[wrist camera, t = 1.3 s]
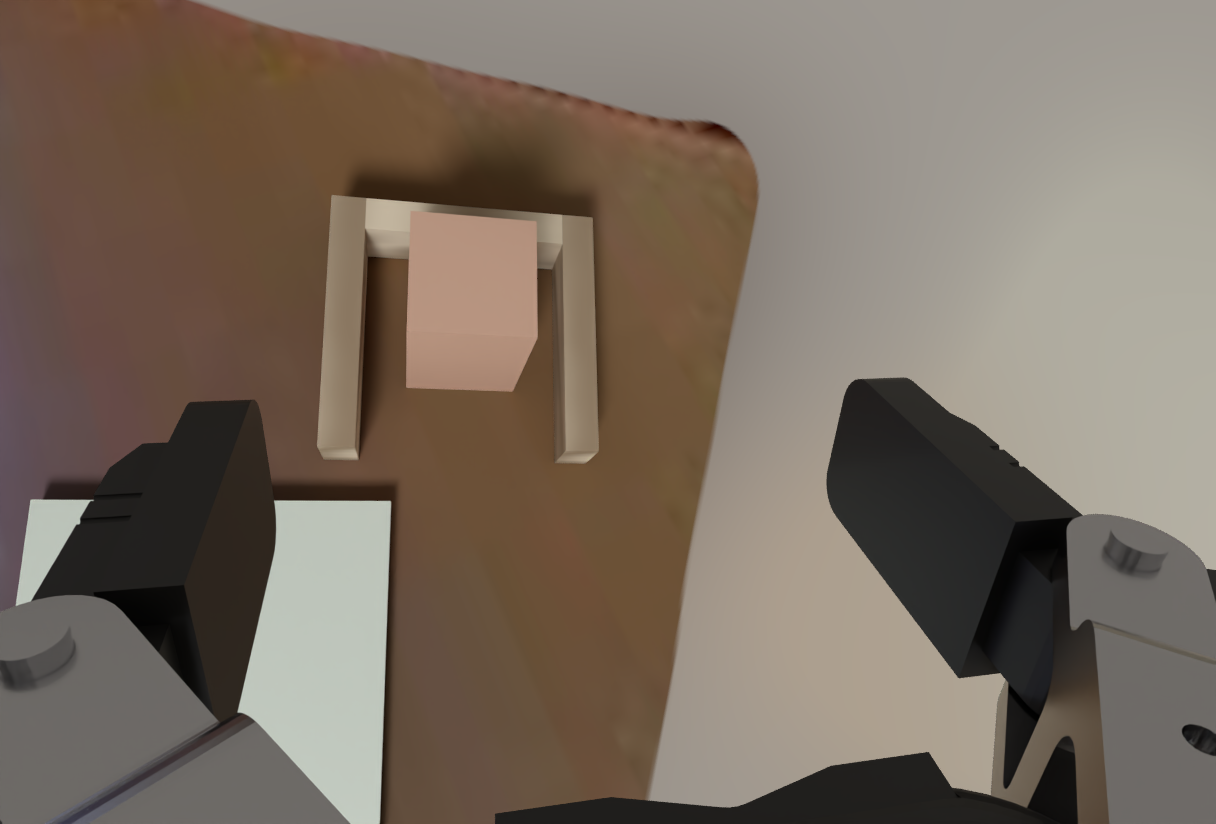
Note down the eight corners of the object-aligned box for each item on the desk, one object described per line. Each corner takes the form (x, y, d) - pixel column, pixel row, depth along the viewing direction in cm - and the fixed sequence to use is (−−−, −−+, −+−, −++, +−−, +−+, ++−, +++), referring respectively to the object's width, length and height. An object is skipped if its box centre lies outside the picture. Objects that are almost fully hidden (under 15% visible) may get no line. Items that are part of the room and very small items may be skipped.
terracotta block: (406, 387, 39) (406, 331, 31) (409, 288, 40) (410, 210, 32) (512, 391, 40) (537, 337, 32) (512, 295, 41) (536, 221, 34)
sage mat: (-11, 877, 31) (-24, 886, 30) (41, 502, 34) (30, 499, 33) (379, 843, 34) (378, 849, 33) (391, 504, 37) (390, 501, 36)
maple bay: (324, 459, 37) (317, 446, 34) (337, 225, 40) (331, 195, 37) (585, 463, 40) (598, 451, 37) (580, 244, 43) (592, 217, 40)
